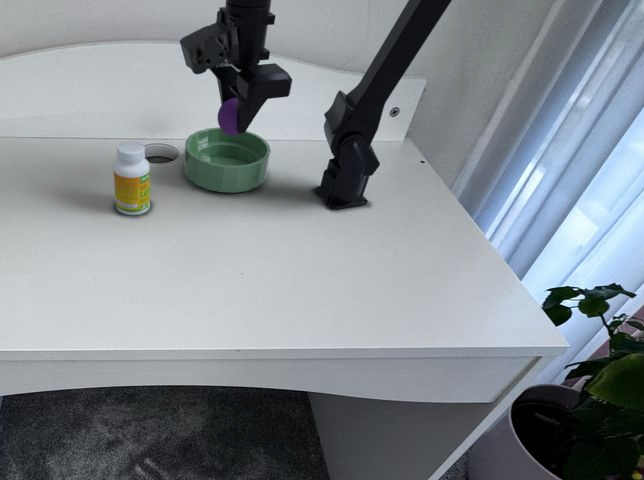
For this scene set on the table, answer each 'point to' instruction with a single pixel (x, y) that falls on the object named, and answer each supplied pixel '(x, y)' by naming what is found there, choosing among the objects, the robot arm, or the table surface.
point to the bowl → (226, 160)
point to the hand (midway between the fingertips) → (233, 125)
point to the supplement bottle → (132, 178)
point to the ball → (228, 117)
